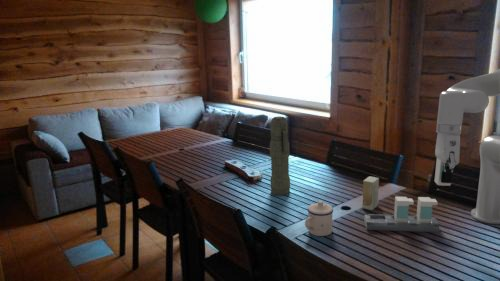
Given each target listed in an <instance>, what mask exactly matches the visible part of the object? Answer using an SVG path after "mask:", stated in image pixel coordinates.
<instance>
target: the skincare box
mask: <svg viewBox="0 0 500 281" xmlns="http://www.w3.org/2000/svg"><path fill="white" fill-rule="evenodd" d="M362 182H363V183H362V209H365V210H369V211H373V210H374V209H376V208H377V207H378V205H379V187H380V186H379V183H380V178H379V177H375V176H367V177H366V178H365V179H363V181H362Z"/></svg>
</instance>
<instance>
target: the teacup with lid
mask: <svg viewBox="0 0 500 281" xmlns="http://www.w3.org/2000/svg"><path fill="white" fill-rule="evenodd" d="M307 212H308V216H307V218H305V222H304V226H305V228H306V229H307V230H308V232H309V234H311V235H313V236H316V237H325V236H326V237H327V236H328V235H329V236H330V235H331V234H332V232H333V213H334V209H333V206H331V205H330V204H328V203H324V201H323V200H318V201H317V202H316V203H312V204H309V206H308V208H307Z"/></svg>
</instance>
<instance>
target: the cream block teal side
mask: <svg viewBox="0 0 500 281" xmlns="http://www.w3.org/2000/svg"><path fill="white" fill-rule="evenodd" d="M416 204H417V205H416V206H417V207H416V215H417V218H416V220H417V222H418V223H431V218H432V216H433V206H438V201H437V200H436V198H431V197H429V196H426V197H425V196H418V197H417V203H416Z"/></svg>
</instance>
